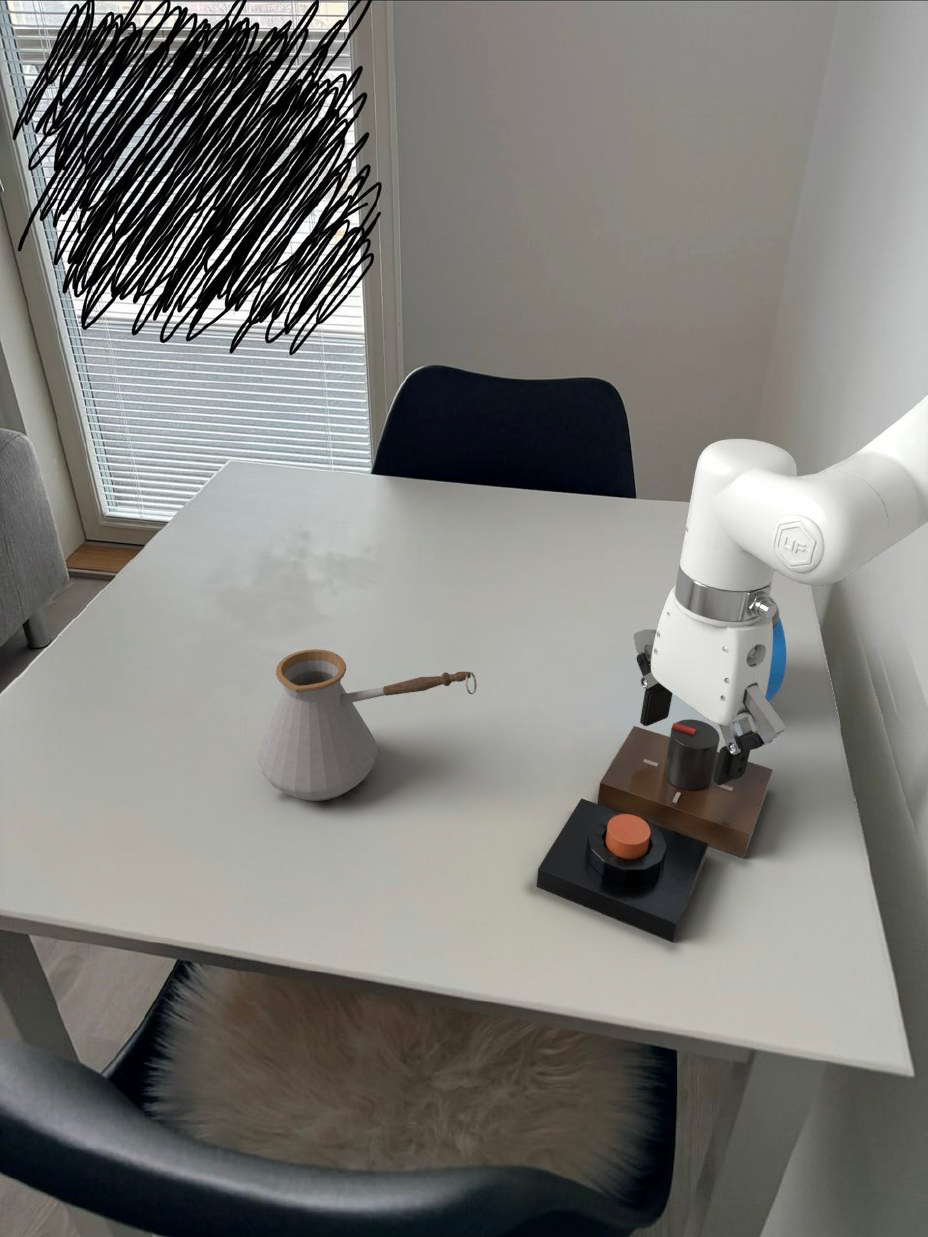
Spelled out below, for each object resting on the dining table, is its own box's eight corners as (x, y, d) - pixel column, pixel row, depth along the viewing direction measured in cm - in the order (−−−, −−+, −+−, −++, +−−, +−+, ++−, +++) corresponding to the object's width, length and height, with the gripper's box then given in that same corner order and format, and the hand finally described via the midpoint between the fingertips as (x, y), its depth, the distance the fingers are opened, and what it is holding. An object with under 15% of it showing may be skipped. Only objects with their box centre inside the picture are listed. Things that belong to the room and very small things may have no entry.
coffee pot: (240, 802, 84) (221, 672, 76) (290, 730, 93) (277, 608, 85) (457, 845, 79) (459, 711, 72) (485, 765, 89) (490, 640, 81)
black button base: (704, 861, 78) (712, 828, 76) (672, 942, 70) (679, 908, 68) (579, 815, 83) (582, 783, 81) (536, 887, 75) (538, 853, 73)
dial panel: (767, 792, 86) (773, 767, 84) (743, 859, 78) (750, 833, 77) (630, 748, 92) (634, 724, 90) (596, 806, 84) (599, 781, 82)
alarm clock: (773, 728, 95) (803, 608, 87) (720, 734, 94) (745, 613, 86) (721, 662, 106) (742, 551, 98) (672, 667, 105) (691, 555, 97)
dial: (716, 769, 84) (725, 725, 82) (704, 796, 81) (713, 751, 78) (671, 755, 86) (679, 711, 83) (658, 781, 83) (665, 736, 80)
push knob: (653, 838, 75) (656, 822, 75) (640, 865, 73) (642, 850, 72) (613, 823, 77) (615, 808, 76) (599, 850, 74) (601, 834, 73)
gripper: (837, 625, 69) (789, 789, 78) (681, 539, 81) (655, 690, 90) (771, 651, 65) (729, 820, 74) (619, 558, 78) (599, 712, 87)
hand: (689, 748), depth 82 cm, fingers open, 9 cm apart
